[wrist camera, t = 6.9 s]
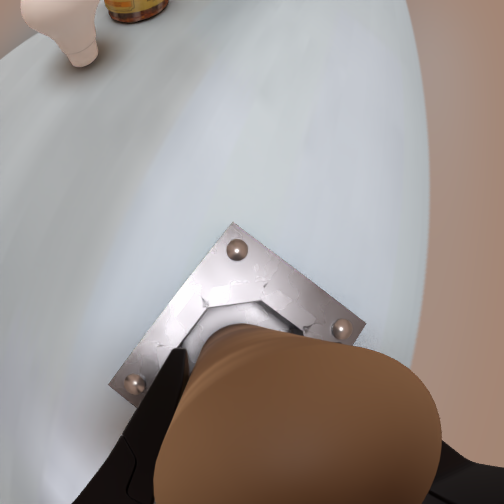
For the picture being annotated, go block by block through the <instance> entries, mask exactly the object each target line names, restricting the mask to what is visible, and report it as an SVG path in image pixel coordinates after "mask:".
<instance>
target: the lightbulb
mask: <svg viewBox="0 0 504 504" xmlns="http://www.w3.org/2000/svg"><path fill="white" fill-rule="evenodd" d="M99 1H100V0H21V13H22V17H23V19H24V21H25V22H26V24H27V25H28V26H29V27H30V28H32V29H34V30H36V31H37V32H39V33H41V34H44V35H46V36H49V37H50V38H51V39H53V40H54V41H55V42H56V43H57V44H58V46H59V48H60V49H61V51H62V52H63V53H66V55H67V56H68V58H69V60H70V62H71V63H72V65H73V66H75V67H83V66H86V65H88V64H90V63H92V62H93V61H94V60H95V59H96V57H97V55H98V48H97V44H96V40H95V37H96V30H95V25H94V18H95V12H96V9H97V7H98V4H99Z"/></svg>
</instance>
